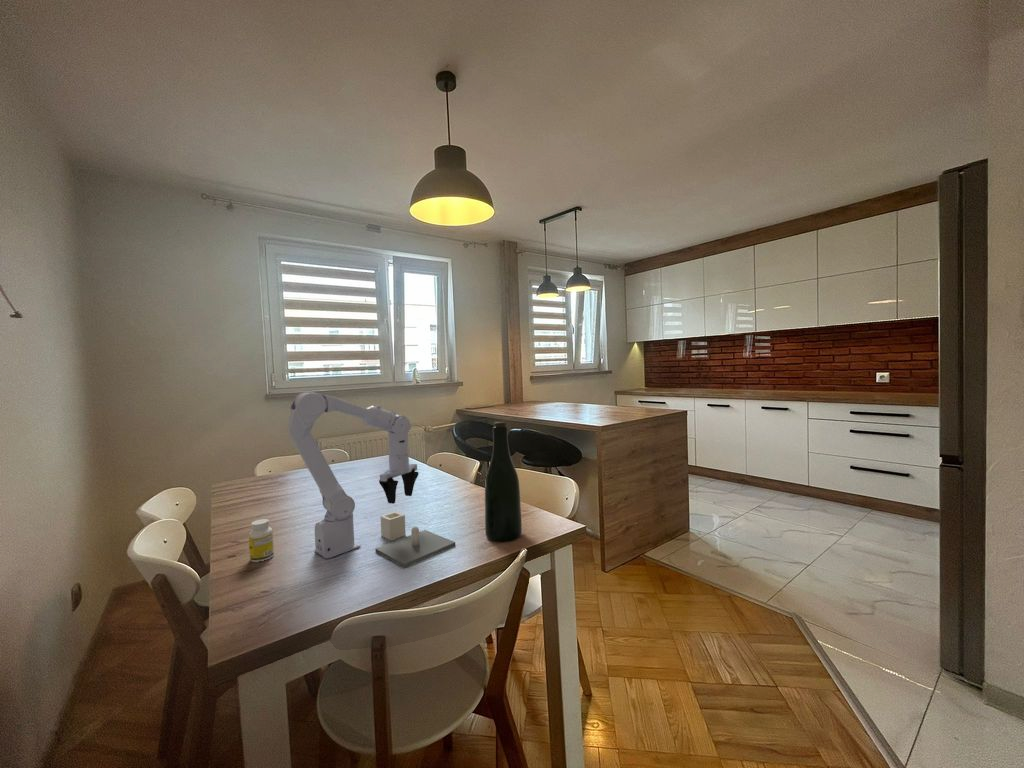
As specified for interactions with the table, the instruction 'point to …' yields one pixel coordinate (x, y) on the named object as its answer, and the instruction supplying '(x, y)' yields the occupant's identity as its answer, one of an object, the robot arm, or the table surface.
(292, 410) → the robot arm
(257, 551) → the supplement bottle
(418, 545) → the post board
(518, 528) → the green wine bottle
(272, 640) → the table surface
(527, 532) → the table surface
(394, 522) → the sleeve
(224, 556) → the table surface
